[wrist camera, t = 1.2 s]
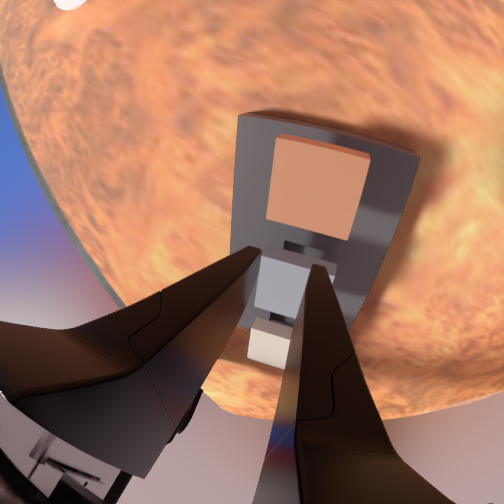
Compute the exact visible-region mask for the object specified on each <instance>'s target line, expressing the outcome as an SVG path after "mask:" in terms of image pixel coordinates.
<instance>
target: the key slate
mask: <svg viewBox="0 0 504 504" xmlns="http://www.w3.org/2000/svg"><path fill="white" fill-rule="evenodd" d="M313 263H315V264H319V265H322V266H325V267H326V269H327V272H328V274H329V277H330V279H331V282H332V284H333V281H334V278H335V274H336V268H337V264H335V263H331V262H328V261H324V260H321V259H317V258H313V257H310V256H306V255H303V254H299V253H295V252H292V251H288V250H284V249H281V248H277V247H273V246H270V245H267V246H266V247H265V249H264V251H263V253H262V256H261V263H260V270H259V275H258V282H257V290H256V297H255V304H254V307H258V308H261V309H264V310H267V311H271V312H274V313H277V314H280V315H284V316H287V317H291V318H294V319H296V316H297V313H298V310H299V306H300V303H301V300H302V296H303V293H304V290H305V286H306V283H307V279H308V276H309V272H310V269H311V265H312V264H313Z"/></svg>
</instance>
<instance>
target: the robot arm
mask: <svg viewBox="0 0 504 504" xmlns="http://www.w3.org/2000/svg"><path fill="white" fill-rule="evenodd" d="M261 256H262V250H261V248H258V247H254V246H250V245H249V246H246V247H244V248H242V249H241V250H239V251H237V252H235V253H233V254H231V255H229V256H227V257H225V258H223V259H221V260H219V261H217V262H215V263H213V264H211V265H209V266H207V267H205V268H203V269H201V270H199V271H197V272H195V273H194V274H192V275H190V276H188V277H186V278H184V279H182V280H180V281H178V282H176V283H174V284H172V285H170V286H168V287H166V288H164V289H162V290H161V291H158V292H156V293H154V294H153V295H151V296H149V297H147V298H145V299H142V300H140V301H138V302H136V303H134V304H132V305H130V306H127V307H125V308H123V309H120V310H118V311H116V312H113V313H111V314H108V315H106V316H103V317H101V318H98V319H95V320H93V321H90V322H88V323H85V324H83V325H80V326H77V327H75V328H70V329H64V330H56V329H47V328H40V327H33V326H27V325H20V324H14V323H8V322H3V321H0V504H116V503H117V501H118V499H119V498H120V496H121V494H122V493H123V491H124V489H125V488H126V486H127V484H128V483H129V481H130V479H131V477H132V476H133V475H135V476H137V477H140V478H143V479H145V477H146V476H147V474H148V473H149V471H150V470H151V468H152V466H153V465H154V463H155V462H156V460H157V458H158V457H159V455H160V454H161V452H162V450H163V449H164V447H165V446H166V445H167V444H168V443H170V442H171V441H172V440H173V438H174V437H175V435H176V433H178V434H180V433H181V432H182V431H183V430H184V429H185V428H186V426H187V425H188V423H189V422H190V420H191V418H192V416H193V414H194V411H195V409H196V406H197V404H198V402H199V399H200V397H201V394H202V392H203V390H202V389H201V386H202V384H203V383H204V381H205V379H206V377H207V376H208V374H209V372H210V371H211V369H212V367H213V366H214V364H215V362H216V360H217V359H218V357H219V355H220V353H221V352H222V350H223V348H224V347H225V345H226V343H227V341H228V340H229V338H230V336H231V334H232V333H233V331H234V329H235V327H236V326H237V324H238V322H239V320H240V318H241V316H242V314H243V312H244V310H245V307H246V305H247V302H248V300H249V297H250V295H251V292H252V290H253V287H254V285H255V282H256V280H257V277H258V274H259V270H260V263H261ZM355 353H356V351H355V348H354V345H353V342H352V339H351V336H350V333H349V330H348V327H347V324H346V321H345V318H344V315H343V312H342V310H341V307H340V304H339V301H338V298H337V296H336V293H335V290H334V287H333V285H332V282H331V279H330V277H329V274H328V272H327V269H326V267H325V266H322V265H319V264H315V263H313V264H312V265H311V269H310V272H309V276H308V279H307V283H306V286H305V290H304V293H303V296H302V300H301V303H300V306H299V310H298V313H297V316H296V319H295V323H294V326H293V329H292V333H291V338H290V344H289V349H288V354H287V360H286V365H285V370H284V375H283V380H282V385H281V390H280V394H279V399H278V404H277V408H276V413H275V417H274V422H273V426H272V430H271V435H270V439H269V443H268V447H267V451H266V455H265V459H264V463H263V467H262V470H261V474H260V478H259V481H258V485H257V489H256V492H255V496H254V500H253V503H252V504H456V503H454V502H453V501H451V500H450V499H449V498H447V497H446V496H445V495H444V494H442V493H441V492H439V491H438V490H437V489H436V488H435V487H434V486H432V485H431V484H430V483H429V482H428V481H426V480H425V479H424V478H423V477H422V476H421V475H419V474H418V473H417V472H416V471H415V470H413V469H412V468H411V467H410V466H409V465H408V464H407V463H405V462H404V461H403V460H402V458H401V457H400V456H399V455H398V453H397V452H396V450H395V449H394V447H393V445H392V443H391V441H390V439H389V436H388V434H387V431H386V429H385V427H384V424H383V422H382V419H381V417H380V415H379V412H378V410H377V408H376V405H375V403H374V401H373V398H372V396H371V393H370V391H369V388H368V386H367V384H366V381H365V378H364V375H363V372H362V369H361V366H360V363H359V360H358V357H357V354H355ZM489 504H493V503H489Z"/></svg>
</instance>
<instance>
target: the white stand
mask: <svg viewBox="0 0 504 504" xmlns="http://www.w3.org/2000/svg"><path fill="white" fill-rule="evenodd" d="M54 1H55V4H56V5H57V7H58V8H60V9H62V10H73V9H76V8H79V7H81V6H83V5H84V4H86V3H87V2H88V1H90V0H54Z"/></svg>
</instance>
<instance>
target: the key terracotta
mask: <svg viewBox="0 0 504 504" xmlns="http://www.w3.org/2000/svg"><path fill="white" fill-rule="evenodd" d="M369 164H370V156H369V154H368V153H364V152H361V151H357V150H353V149H350V148H346V147H342V146H338V145H334V144H330V143H326V142H321V141H317V140H312V139H308V138H303V137H298V136H293V135H288V134H283V133H282V134H280V135H279V136H278V137H276V142H275V150H274V158H273V166H272V174H271V182H270V190H269V198H268V206H267V214H266V219H268V220H272V221H276V222H280V223H284V224H288V225H291V226H295V227H299V228H303V229H307V230H310V231H314V232H318V233H321V234H325V235H329V236H332V237H336V238H339V239H343V240H348V237H349V234H350V231H351V228H352V225H353V221H354V218H355V215H356V211H357V208H358V205H359V201H360V198H361V194H362V191H363V187H364V183H365V180H366V176H367V172H368V168H369Z"/></svg>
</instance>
